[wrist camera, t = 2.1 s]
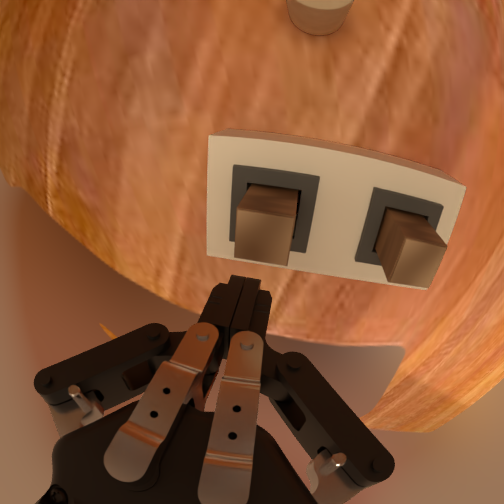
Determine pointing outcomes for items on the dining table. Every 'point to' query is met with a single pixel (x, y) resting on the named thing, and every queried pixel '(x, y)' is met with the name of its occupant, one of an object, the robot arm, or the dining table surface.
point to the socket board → (324, 198)
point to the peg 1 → (265, 224)
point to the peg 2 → (408, 248)
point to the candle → (318, 15)
